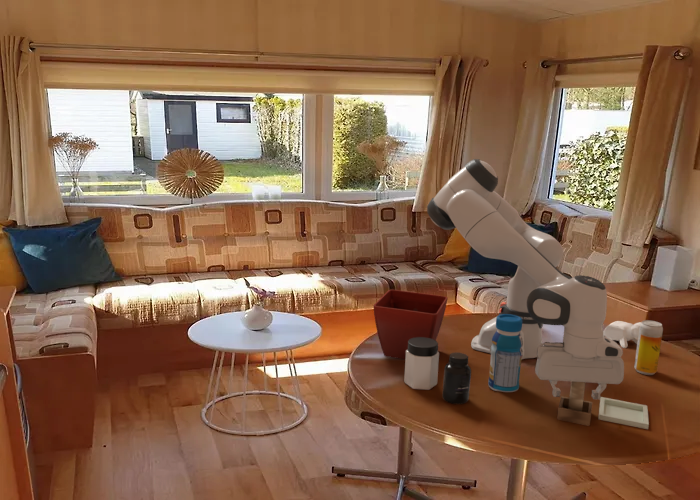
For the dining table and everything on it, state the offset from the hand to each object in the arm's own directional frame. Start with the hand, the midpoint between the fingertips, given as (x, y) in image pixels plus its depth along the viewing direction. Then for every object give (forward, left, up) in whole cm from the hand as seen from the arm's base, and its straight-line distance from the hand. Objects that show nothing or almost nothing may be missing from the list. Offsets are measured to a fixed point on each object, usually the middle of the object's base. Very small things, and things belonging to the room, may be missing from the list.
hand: (575, 397), depth 151 cm
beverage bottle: (-19, +10, -6) cm, 22 cm away
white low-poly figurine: (+12, +64, -6) cm, 66 cm away
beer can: (+17, +41, -6) cm, 45 cm away
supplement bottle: (-29, -3, -6) cm, 30 cm away
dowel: (0, 0, -5) cm, 5 cm away
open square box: (0, 0, -6) cm, 6 cm away
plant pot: (-50, +22, -6) cm, 55 cm away
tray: (+11, +7, -6) cm, 14 cm away
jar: (-40, +2, -6) cm, 40 cm away
